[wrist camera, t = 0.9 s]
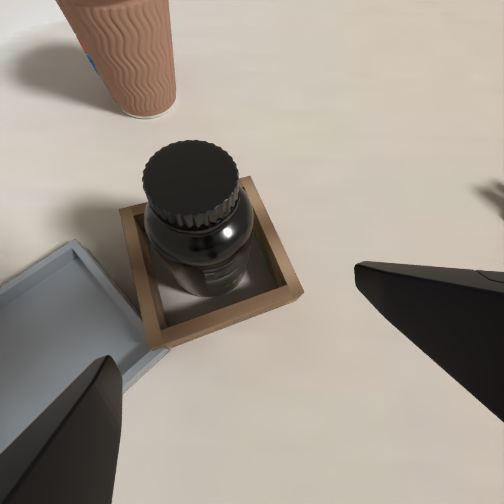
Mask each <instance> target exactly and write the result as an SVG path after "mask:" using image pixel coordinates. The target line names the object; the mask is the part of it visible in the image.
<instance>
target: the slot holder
mask: <svg viewBox="0 0 504 504" xmlns="http://www.w3.org/2000/svg"><path fill="white" fill-rule="evenodd" d="M239 185H240V186H241V187H242V188H243V189H244V190H245V192H246V193H247V195H248V197H249V199H250V201H251V204H252V208H253V217H254V219H253V230H254V232H255V235H256V237H257V239H258V242H259V244H260V246H261V249H262V251H263V253H264V256H265V258H266V260H267V263H268V265H269V267H270V270H271V272H272V274H273V277H274V279H275V281H276V284H277V286H278V288H277V289H274V290H271V291H268V292H266V293H263V294H260V295H257V296H255V297H252V298H249V299H246V300H243V301H241V302H238V303H235V304H232V305H230V306H227V307H224V308H221V309H219V310H216V311H213V312H210V313H207V314H205V315H202V316H199V317H196V318H194V319H191V320H188V321H185V322H182V323H180V324H177V325H174V326H171V327H169V328H168V326H167V322H166V318H165V314H164V310H163V306H162V302H161V298H160V294H159V290H158V285H157V281H156V277H155V273H154V269H153V265H152V261H151V257H150V253H149V249H148V245H147V241H146V237H145V232H146V230H145V225H144V213H145V208H146V205H147V202H146V203H142V204H138V205H134V206H130V207H127V208H123V209H119V211H120V216H121V221H122V226H123V230H124V235H125V240H126V244H127V249H128V254H129V259H130V263H131V268H132V273H133V278H134V282H135V287H136V292H137V297H138V301H139V306H140V311H141V316H142V320H143V325H144V330H145V334H146V339H147V344H148V349H149V350H152V351H154V350H156V349H159V348H162V347H165V348H172V347H175V346H177V345H180V344H183V343H185V342H188V341H191V340H193V339H196V338H199V337H201V336H204V335H207V334H209V333H212V332H214V331H217V330H220V329H222V328H225V327H228V326H230V325H233V324H236V323H238V322H241V321H244V320H246V319H249V318H252V317H254V316H257V315H260V314H262V313H265V312H267V311H270V310H273V309H275V308H278V307H281V306H283V305H286V304H289V303H291V302H294V301H296V300H297V299H298V298H299V297H300V296H301V295H302V294H303V293H304V290H303V288H302V286H301V284H300V282H299V280H298V277H297V275H296V273H295V271H294V269H293V267H292V265H291V262H290V260H289V258H288V256H287V254H286V252H285V250H284V247H283V245H282V243H281V241H280V239H279V237H278V234H277V232H276V230H275V228H274V226H273V224H272V222H271V219H270V217H269V215H268V213H267V211H266V209H265V207H264V204H263V202H262V200H261V198H260V196H259V194H258V191H257V189H256V187H255V185H254V183H253V181H252V179H251V176H247V177H244V178H240V179H239Z"/></svg>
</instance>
